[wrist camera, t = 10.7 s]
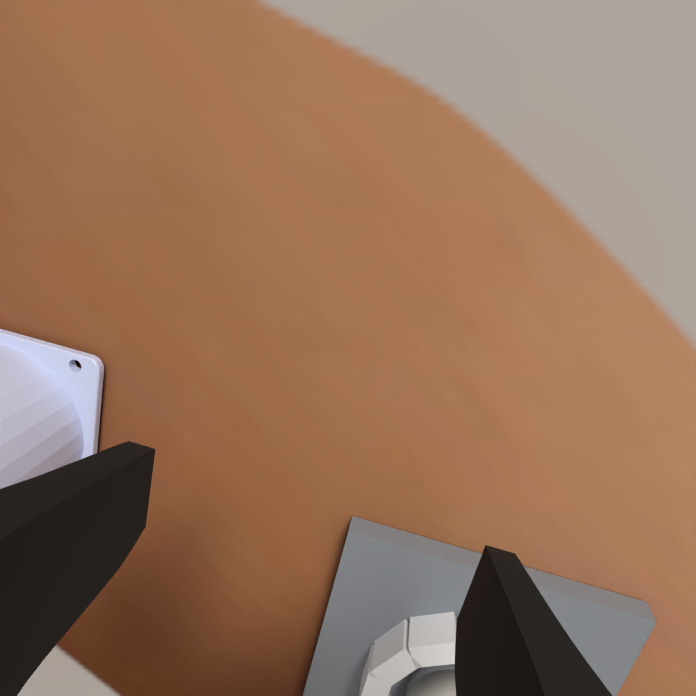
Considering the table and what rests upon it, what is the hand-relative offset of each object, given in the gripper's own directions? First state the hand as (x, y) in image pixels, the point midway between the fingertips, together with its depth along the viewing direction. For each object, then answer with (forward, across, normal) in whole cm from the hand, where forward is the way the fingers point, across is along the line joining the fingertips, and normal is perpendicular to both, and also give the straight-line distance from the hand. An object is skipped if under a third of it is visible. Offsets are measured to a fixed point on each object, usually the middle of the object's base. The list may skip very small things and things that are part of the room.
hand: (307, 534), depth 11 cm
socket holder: (+9, -7, +12) cm, 17 cm away
